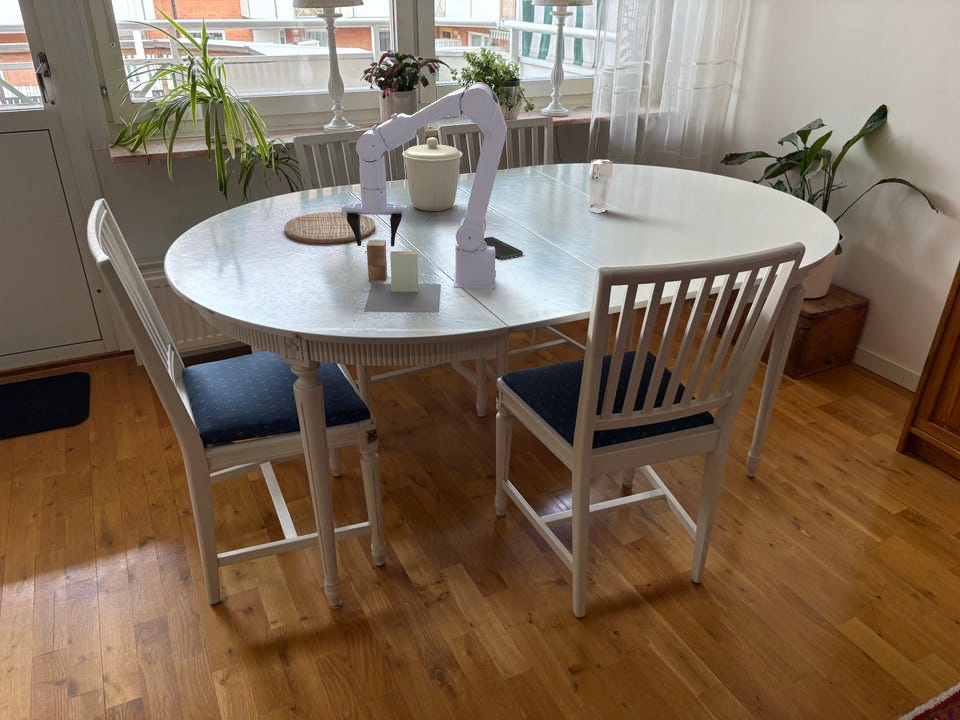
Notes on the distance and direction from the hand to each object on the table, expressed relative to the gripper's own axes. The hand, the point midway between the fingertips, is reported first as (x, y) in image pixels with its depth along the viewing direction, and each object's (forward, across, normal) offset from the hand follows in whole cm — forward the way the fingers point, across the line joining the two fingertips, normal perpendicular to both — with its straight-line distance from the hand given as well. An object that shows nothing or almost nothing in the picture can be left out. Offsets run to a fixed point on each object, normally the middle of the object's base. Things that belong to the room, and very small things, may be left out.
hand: (376, 245), depth 171 cm
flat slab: (+8, -7, +8) cm, 13 cm away
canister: (+9, -11, -61) cm, 63 cm away
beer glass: (+8, -62, -59) cm, 86 cm away
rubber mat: (+8, -7, +12) cm, 16 cm away
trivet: (+9, +17, -37) cm, 42 cm away
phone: (+9, -29, -22) cm, 38 cm away
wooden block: (+8, 0, 0) cm, 8 cm away
